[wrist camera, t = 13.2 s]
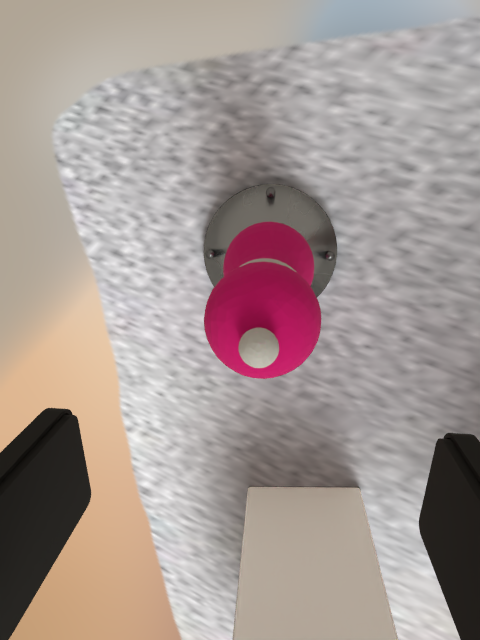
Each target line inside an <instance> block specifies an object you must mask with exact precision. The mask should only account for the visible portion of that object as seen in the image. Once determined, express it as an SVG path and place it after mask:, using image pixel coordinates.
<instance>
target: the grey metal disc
mask: <svg viewBox="0 0 480 640" xmlns="http://www.w3.org/2000/svg"><path fill="white" fill-rule="evenodd" d="M261 222H278V223H282V224H285V225H288V226H290V227H291V228H293V229H295V230H296V231H297V232H299V233H300V234H301V235H302V236H303V237H304V238H305V240H306V241H307V243H308V244H309V246H310V248H311V251H312V254H313V258H314V278H313V281H312V284H311V288H312V289H313V291H314V294H315V296H316V298H317V297H318V296H319V295H320V294H321V292H322V291H323V290H324V289H325V287H326V286H327V284H328V282H329V281H330V278H331V276H332V274H333V271H334V268H335V264H336V258H337V243H336V237H335V233H334V229H333V227H332V224H331V222H330V220H329V218H328V216H327V215H326V213H325V212H324V210H323V209H322V208H321V207H320V206H319V205H318V204H317V203H316V202H315V201H314V200H313V199H312V198H310V197H309V196H308V195H306V194H305V193H303V192H301V191H299V190H297V189H294V188H292V187H289V186H284V185H278V184H265V185H258V186H254V187H251V188H248V189H245V190H243V191H241V192H239V193H238V194H236V195H234V196H233V197H231V198H230V199H229V200H227V201H226V202H225V203H224V204H223V205H222V206H221V207H220V209H219V210H218V211H217V212H216V214H215V215H214V217H213V219H212V220H211V222H210V225H209V227H208V230H207V233H206V236H205V242H204V261H205V266H206V270H207V273H208V275H209V278H210V280H211V282H212V284H213V286H214V287H215V286H216V285H217V283H218V282H219V281H220V280H221V279H222V278H223V277H224V273H223V266H224V259H225V255H226V252H227V249H228V247H229V245H230V243H231V242H232V240H233V239H234V238H235V237H236V236H237V235H238V234H239V233H240V232H241V231H242V230H244V229H246V228H247V227H249V226H251V225H254V224H257V223H261Z"/></svg>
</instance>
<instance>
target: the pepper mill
mask: <svg viewBox="0 0 480 640" xmlns="http://www.w3.org/2000/svg"><path fill="white" fill-rule="evenodd" d="M223 273H224V277H223V278H222V279H221V280H220V281H219V282H218V283H217V285H216V286H215V287H214V288H213V290H212V292H211V294H210V296H209V299H208V301H207V305H206V309H205V317H204V326H205V332H206V336H207V340H208V342H209V344H210V346H211V348H212V350H213V352H214V353H215V354H216V356H217V357H218V358H219V359H220V360H221V361H222V362H223V363H224V364H225V365H226V366H228V367H229V368H231V369H232V370H234V371H235V372H237V373H239V374H241V375H244V376H247V377H252V378H263V379H265V378H273V377H277V376H280V375H284V374H286V373H288V372H290V371H292V370H294V369H295V368H297V367H298V366H300V365H301V364H302V363H303V362H304V361H305V360H306V359H307V358H308V356H309V355H310V354H311V353H312V351H313V349H314V347H315V345H316V343H317V341H318V338H319V334H320V328H321V310H320V306H319V302H318V300H317V298H316V296H315V294H314V291H313V289H312V288H311V284H312V281H313V278H314V258H313V254H312V251H311V248H310V246H309V244H308V243H307V241H306V240H305V238H304V237H303V236H302V235H301V234H300V233H299V232H297V231H296V230H295V229H293V228H291V227H290V226H288V225H285V224H282V223H278V222H261V223H257V224H254V225H251V226H249V227H247V228H246V229H244V230H242V231H241V232H240V233H239V234H238V235H237V236H236V237H235V238H234V239H233V240H232V242H231V243H230V245H229V247H228V249H227V252H226V255H225V259H224V266H223Z"/></svg>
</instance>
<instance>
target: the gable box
mask: <svg viewBox="0 0 480 640" xmlns="http://www.w3.org/2000/svg"><path fill="white" fill-rule="evenodd" d="M233 640H398V637H397V633H396V629H395V625H394V621H393V617H392V613H391V609H390V605H389V601H388V598H387V594H386V590H385V586H384V582H383V578H382V574H381V570H380V566H379V562H378V558H377V554H376V550H375V546H374V542H373V538H372V534H371V530H370V526H369V522H368V519H367V515H366V511H365V507H364V503H363V499H362V495H361V491H360V489H359V488H339V487H249V488H248V492H247V502H246V512H245V522H244V532H243V542H242V552H241V562H240V572H239V582H238V592H237V602H236V611H235V621H234V631H233Z"/></svg>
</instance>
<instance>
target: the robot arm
mask: <svg viewBox="0 0 480 640" xmlns="http://www.w3.org/2000/svg"><path fill="white" fill-rule="evenodd" d="M90 498H91V488H90V483H89V477H88V472H87V467H86V461H85V456H84V450H83V446H82V440H81V434H80V429H79V423H78V419H77V417H76V416H75V415H72V412H71V411H70V410H68V409H56V408H47V409H45V410H44V411H42V412H41V413H40V415H38V416H37V417H36V418H35V419H34V420H33V421H32V422H31V424H29V425H28V426H27V427H26V428H25V429H24V430H23V431H22V432H21V433H20V434H19V435H18V436H17V437H16V438H15V439H14V440H13V441H12V442H11V443H10V444H9V445H8V446H7V447H6V448H5V449H4V450H3V451H2V452H1V453H0V640H8V639H9V638H10V636H11V635H12V633H13V632H14V630H15V628H16V627H17V625H18V623H19V622H20V620H21V618H22V616H23V615H24V613H25V611H26V610H27V608H28V606H29V604H30V603H31V601H32V599H33V598H34V596H35V594H36V593H37V591H38V589H39V588H40V586H41V584H42V583H43V581H44V579H45V577H46V576H47V574H48V572H49V571H50V569H51V567H52V565H53V564H54V562H55V561H56V559H57V557H58V555H59V554H60V552H61V550H62V549H63V547H64V545H65V544H66V542H67V540H68V539H69V537H70V535H71V534H72V532H73V530H74V528H75V527H76V525H77V523H78V522H79V520H80V518H81V516H82V515H83V513H84V511H85V510H86V508H87V506H88V504H89V502H90ZM419 529H420V534H421V537H422V539H423V542H424V545H425V547H426V550H427V552H428V555H429V558H430V560H431V563H432V566H433V568H434V571H435V573H436V576H437V579H438V581H439V584H440V586H441V589H442V592H443V594H444V597H445V599H446V602H447V605H448V607H449V610H450V613H451V615H452V618H453V620H454V623H455V626H456V628H457V631H458V633H459V636H460V639H461V640H480V442H479V440H478V439H477V438H476V437H475V436H474V435H472V434H456V433H447V434H446V435H445V436H444V439H438V440H437V443H436V446H435V451H434V455H433V460H432V464H431V469H430V473H429V478H428V482H427V487H426V491H425V496H424V500H423V505H422V509H421V513H420V518H419Z"/></svg>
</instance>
